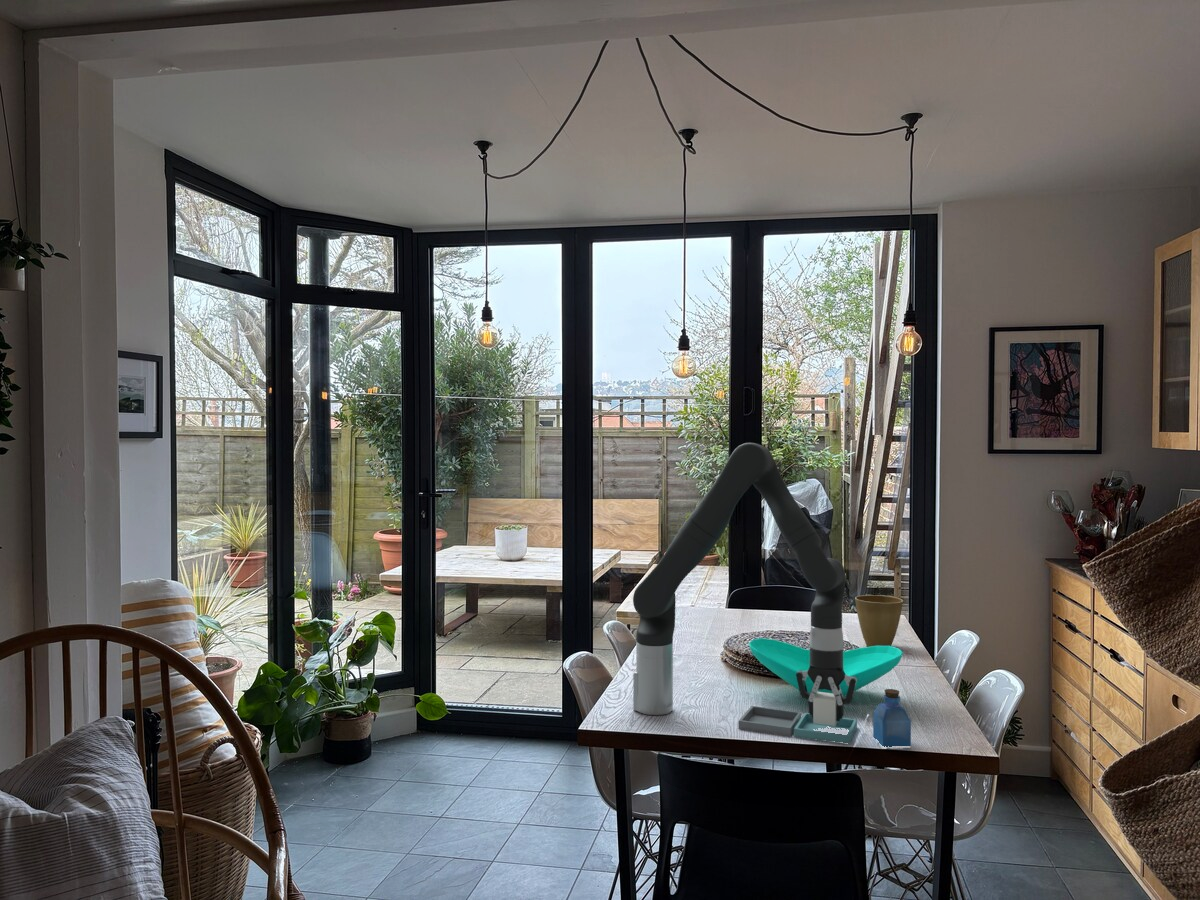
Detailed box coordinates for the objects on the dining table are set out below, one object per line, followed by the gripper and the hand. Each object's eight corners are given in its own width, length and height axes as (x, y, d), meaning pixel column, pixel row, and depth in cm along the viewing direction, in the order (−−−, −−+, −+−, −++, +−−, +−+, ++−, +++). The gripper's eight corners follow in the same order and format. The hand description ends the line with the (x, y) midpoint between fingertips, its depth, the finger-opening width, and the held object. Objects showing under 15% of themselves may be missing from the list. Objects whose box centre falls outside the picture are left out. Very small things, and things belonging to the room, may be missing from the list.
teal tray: (794, 739, 194) (794, 728, 194) (804, 722, 205) (804, 712, 205) (849, 747, 189) (849, 736, 189) (856, 729, 200) (856, 719, 200)
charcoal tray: (738, 730, 200) (738, 720, 200) (751, 715, 211) (751, 705, 211) (790, 738, 195) (790, 728, 195) (801, 722, 206) (801, 712, 206)
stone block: (813, 723, 196) (813, 697, 196) (817, 716, 201) (817, 691, 200) (835, 726, 194) (835, 700, 194) (838, 719, 198) (839, 694, 198)
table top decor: (743, 706, 218) (743, 654, 217) (752, 676, 244) (752, 630, 244) (907, 719, 207) (908, 665, 207) (898, 687, 234) (898, 639, 234)
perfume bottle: (899, 739, 194) (900, 686, 194) (910, 749, 188) (911, 695, 188) (873, 739, 194) (873, 687, 194) (883, 749, 188) (883, 695, 188)
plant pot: (909, 653, 271) (909, 603, 271) (862, 652, 271) (862, 602, 271) (894, 641, 286) (894, 594, 285) (849, 641, 286) (849, 594, 286)
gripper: (791, 646, 197) (791, 719, 197) (856, 652, 191) (855, 728, 191) (798, 639, 203) (798, 709, 204) (860, 644, 197) (860, 717, 198)
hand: (826, 718), depth 197 cm, fingers closed on stone block, 5 cm apart
